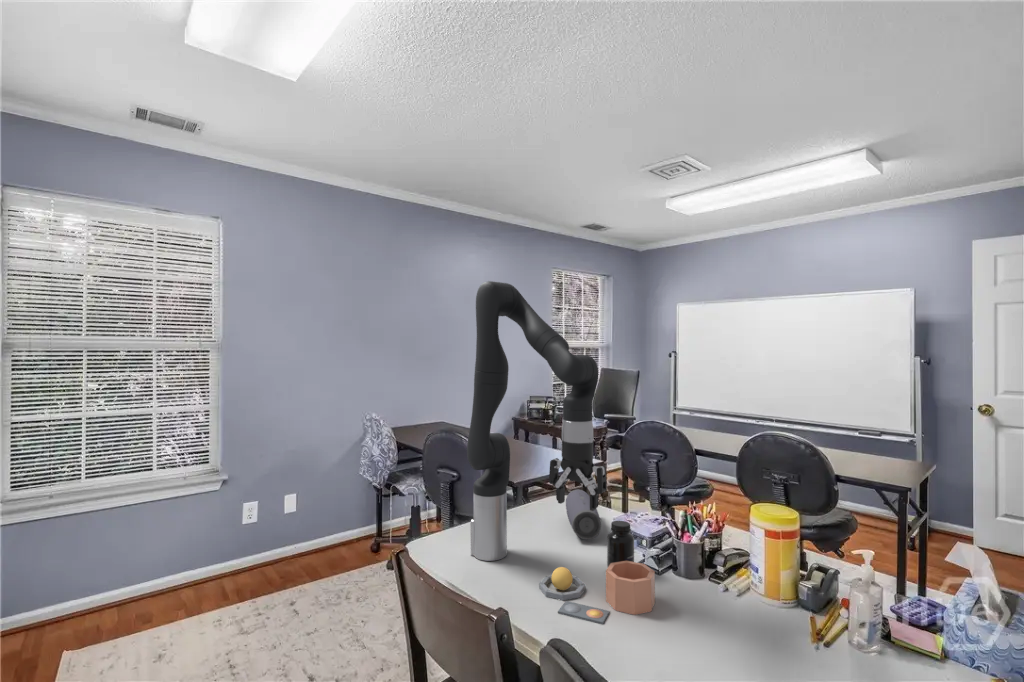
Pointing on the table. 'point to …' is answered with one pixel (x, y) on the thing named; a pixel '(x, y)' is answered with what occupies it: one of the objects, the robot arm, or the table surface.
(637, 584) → the octagonal planter pot
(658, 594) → the table surface
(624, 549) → the supplement bottle
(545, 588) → the gray octagonal ring
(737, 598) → the table surface
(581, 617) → the card
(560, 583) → the ball
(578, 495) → the bluetooth speaker
